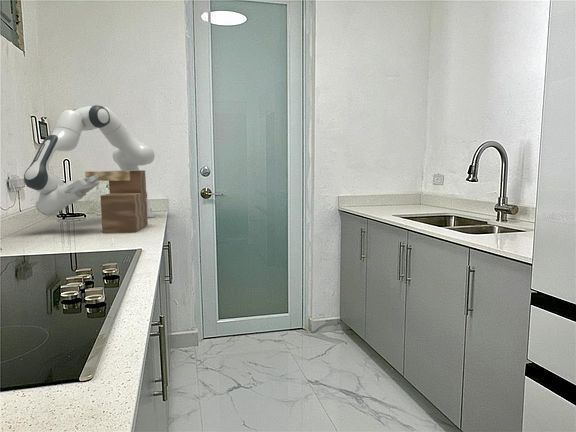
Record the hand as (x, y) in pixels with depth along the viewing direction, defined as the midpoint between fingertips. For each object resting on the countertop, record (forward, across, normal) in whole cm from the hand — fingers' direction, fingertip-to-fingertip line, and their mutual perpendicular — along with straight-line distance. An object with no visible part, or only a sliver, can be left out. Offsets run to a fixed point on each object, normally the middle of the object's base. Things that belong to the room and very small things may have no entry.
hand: (100, 175), depth 205 cm
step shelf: (-5, +5, +26) cm, 27 cm away
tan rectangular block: (+2, 0, +4) cm, 4 cm away
